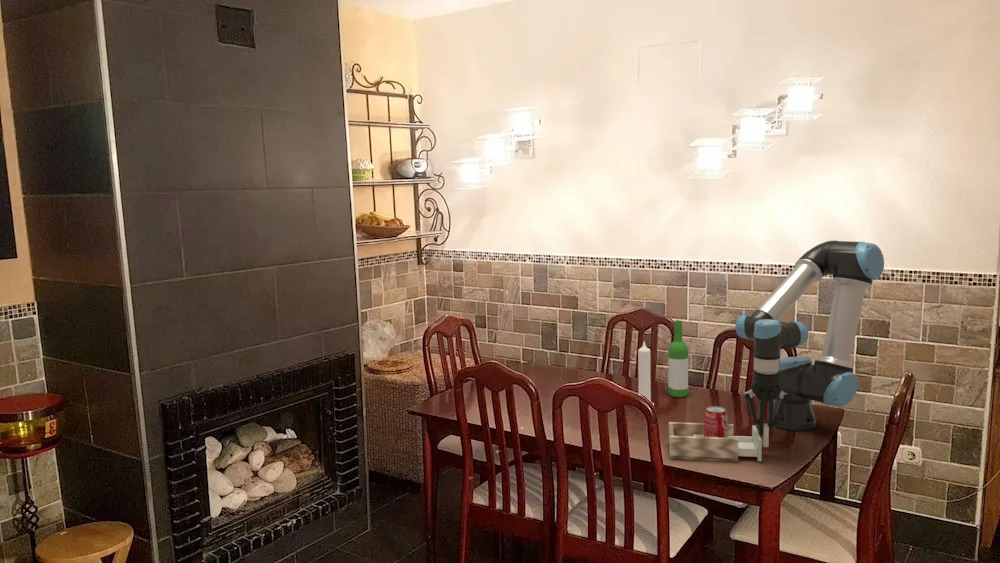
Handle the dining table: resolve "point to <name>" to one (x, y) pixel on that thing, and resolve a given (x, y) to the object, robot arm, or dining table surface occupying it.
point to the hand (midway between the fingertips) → (765, 445)
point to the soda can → (715, 422)
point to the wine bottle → (678, 364)
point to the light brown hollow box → (700, 443)
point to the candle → (644, 372)
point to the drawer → (748, 444)
